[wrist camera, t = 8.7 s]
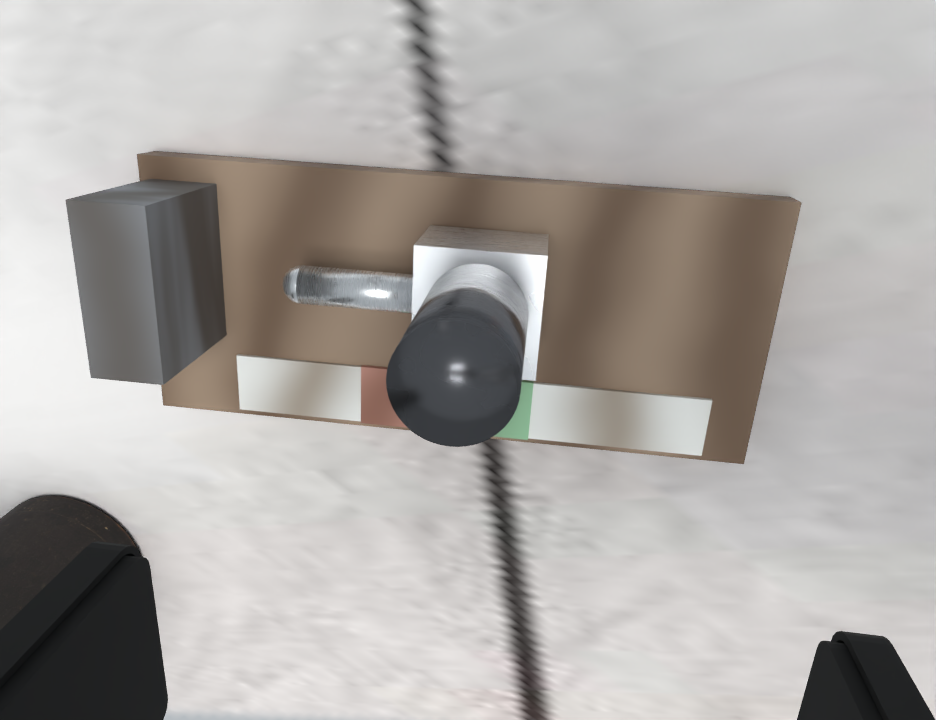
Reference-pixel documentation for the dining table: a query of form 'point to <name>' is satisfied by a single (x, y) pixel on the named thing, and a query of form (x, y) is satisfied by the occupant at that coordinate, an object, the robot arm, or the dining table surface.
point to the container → (46, 545)
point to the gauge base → (379, 332)
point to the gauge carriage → (451, 326)
